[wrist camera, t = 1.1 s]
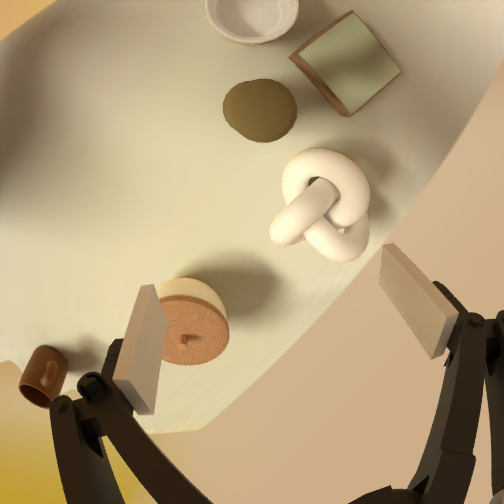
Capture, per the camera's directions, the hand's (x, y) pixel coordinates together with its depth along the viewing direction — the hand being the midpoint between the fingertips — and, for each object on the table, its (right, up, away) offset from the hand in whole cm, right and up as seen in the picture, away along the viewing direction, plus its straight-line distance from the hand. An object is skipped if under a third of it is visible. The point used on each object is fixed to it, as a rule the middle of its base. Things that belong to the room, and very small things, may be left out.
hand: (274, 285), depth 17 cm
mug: (-37, -17, +28) cm, 49 cm away
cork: (-1, +17, +13) cm, 22 cm away
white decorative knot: (+6, +9, +19) cm, 22 cm away
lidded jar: (-10, -4, +24) cm, 26 cm away
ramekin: (-2, +27, +8) cm, 28 cm away
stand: (+9, +23, +11) cm, 27 cm away
